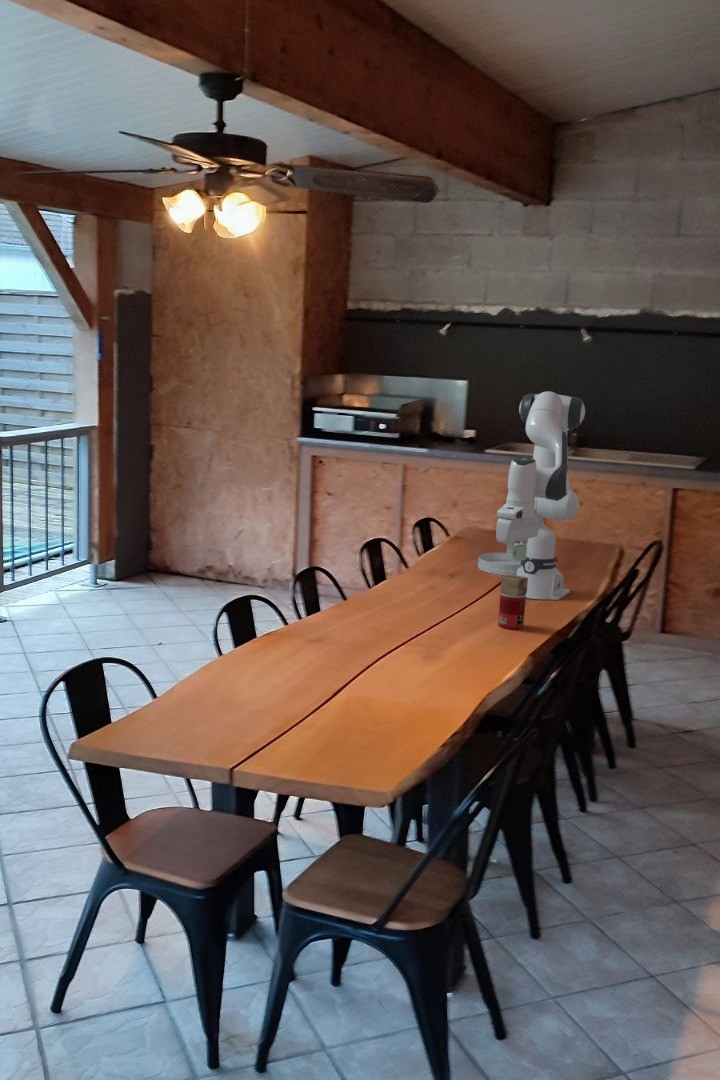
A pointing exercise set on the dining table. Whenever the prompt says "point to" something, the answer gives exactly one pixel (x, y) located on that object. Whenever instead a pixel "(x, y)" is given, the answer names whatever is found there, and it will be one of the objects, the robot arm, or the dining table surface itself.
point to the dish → (498, 564)
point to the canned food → (511, 611)
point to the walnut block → (514, 585)
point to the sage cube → (518, 552)
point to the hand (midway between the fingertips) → (516, 553)
